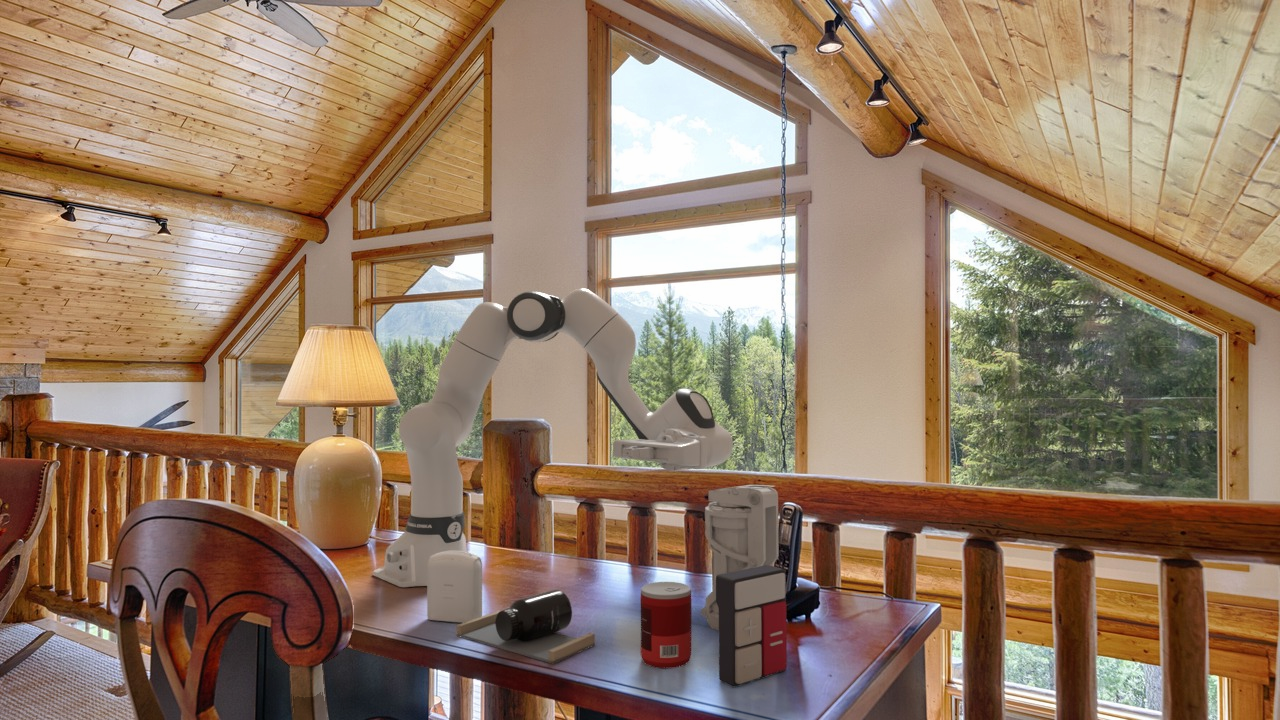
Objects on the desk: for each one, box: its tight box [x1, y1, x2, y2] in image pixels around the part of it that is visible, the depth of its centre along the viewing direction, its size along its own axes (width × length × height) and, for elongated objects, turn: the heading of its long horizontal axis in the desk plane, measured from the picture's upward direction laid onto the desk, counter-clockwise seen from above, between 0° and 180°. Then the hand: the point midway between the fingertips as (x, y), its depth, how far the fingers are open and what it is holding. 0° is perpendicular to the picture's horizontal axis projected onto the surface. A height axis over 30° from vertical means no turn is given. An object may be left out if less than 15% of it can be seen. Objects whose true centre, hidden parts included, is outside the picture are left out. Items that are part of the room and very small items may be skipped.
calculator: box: [716, 565, 788, 688], centre depth 107 cm, size 11×4×15 cm, turn 126°
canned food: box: [640, 581, 692, 669], centre depth 113 cm, size 8×8×11 cm
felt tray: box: [456, 609, 596, 665], centre depth 122 cm, size 22×10×2 cm, turn 55°
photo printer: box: [426, 551, 483, 624], centre depth 133 cm, size 10×4×12 cm, turn 74°
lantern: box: [700, 484, 779, 632], centre depth 130 cm, size 13×10×25 cm
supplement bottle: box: [495, 589, 573, 642], centre depth 122 cm, size 7×7×12 cm
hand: (627, 453), depth 143 cm, fingers closed
